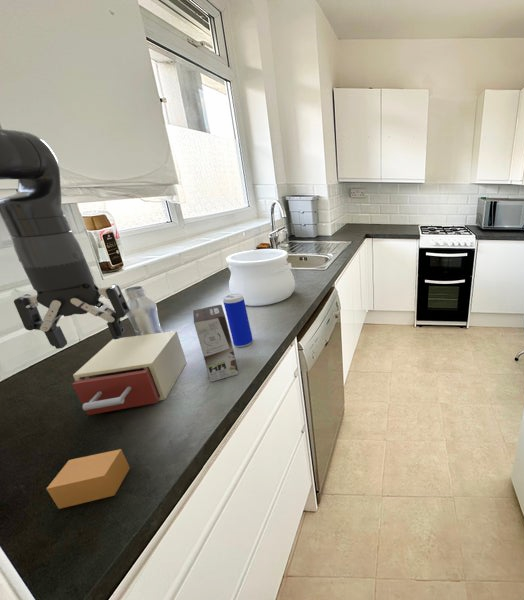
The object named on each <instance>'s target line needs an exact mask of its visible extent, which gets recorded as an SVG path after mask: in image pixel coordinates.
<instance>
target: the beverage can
mask: <svg viewBox="0 0 524 600" xmlns="http://www.w3.org/2000/svg"><path fill="white" fill-rule="evenodd" d="M223 306H224V310H225V314H226V315H225V316H226V318H227V319H226V320H227V324H228V328H229V332H230V336H231V340H232V344H233V345H234V346H235V347H237V348H244V347H247V346H250V345H251V344H252V343H253V341H254V338H253V334H252V330H251V329H252V328H251V325H250V320H249V315H248V311H247V307H246V306H247V305H245V301H244V298H243V296H242V294H231V293H229V294H227V295H225V296H224V297H223Z"/></svg>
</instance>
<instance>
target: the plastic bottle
mask: <svg viewBox="0 0 524 600" xmlns="http://www.w3.org/2000/svg"><path fill="white" fill-rule="evenodd" d="M146 293H147V292H146V290H145V289H144V286H142V285H136V286H131V287H127V288H125V289H124V294H125V297H126V298H128V299H127V301H126V303H127V305H128V307H129V309H130V311H129V312H128V313H127V314H126V315H125V316H126V317H127V318H128V320H129V322H130V323H131V326H132V328H133V329H134V332H135V336H140V335H148V334H155V333H163V332H164V331H163V329H162V326H161V324H160V323H161V322H160V318H159V311H158V305H157V303H156V302H155V300H153V299H152V298H151V297H149V296H147V295H146Z"/></svg>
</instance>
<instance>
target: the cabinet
mask: <svg viewBox="0 0 524 600" xmlns="http://www.w3.org/2000/svg"><path fill="white" fill-rule="evenodd" d="M186 364H187V360H186V356H185V353H184V349H183V346H182V343H181V340H180V337H179V333H178V331H177V330H171V331H165V332H164V331H163V333H155V334H148V335H140V336H136V335H134V336H133V335H132V336H126V337H125V336H124V337H120V338H119V339H115V340H114V339H113V338H112V339H111V340H110V341H109V342H107V344H106V345H104V346H103V347H102V348H101V349H100V350H99V351H98V352H97V353H95V355H93V356H92V357H91V358H90V359H89V360H88V361H86V363H84V364H83V365H82V366H81V367H80V368H79V369H78V370H76V371H75V373H73V374H72V376H73V379H74V382H75V381H78V380H84V379H85V378H84V377H86V376H93V375H99V374H106V373H112V372H119V371H125V370H132V369H138V368H145V367H149V368H150V371H151V374H152V377H153V379H154V382H155V385H156V387H157V390H158V393H159V394H158V397H159V401H165V400H166V399H167V397H168V396H169V394H170V393H171V390H172V389H173V387H174V385H175V383H176V382H177V380H178V379H179V377H180V375H181V374H182V371H183V369H184V368H185V367H186ZM159 401H158V402H159Z"/></svg>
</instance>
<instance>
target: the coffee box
mask: <svg viewBox="0 0 524 600" xmlns="http://www.w3.org/2000/svg"><path fill="white" fill-rule="evenodd" d="M192 314H193V324H194V327H195V332H196V335H197V338H198V341H199V345H200V348H201V349H200V350H201V352H202V356H203V360H204V363H205V366H206V370H207V373H208V376H209V381H210V382H211V383H212V382H216V381H219V380H222V379H226V378H230V377H234V376H237V375H238V374H239V370H238V364H237V360H236V356H235V349H234V346H233V340H232V336H231V332H230V328H229V324H228V320H227V319H226V318H227V317H226V315H225V314H226V313H225V311H224V308H223V305H222V304H217V305H211V306H207V307H203V308H198V309H194V310H192Z"/></svg>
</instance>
